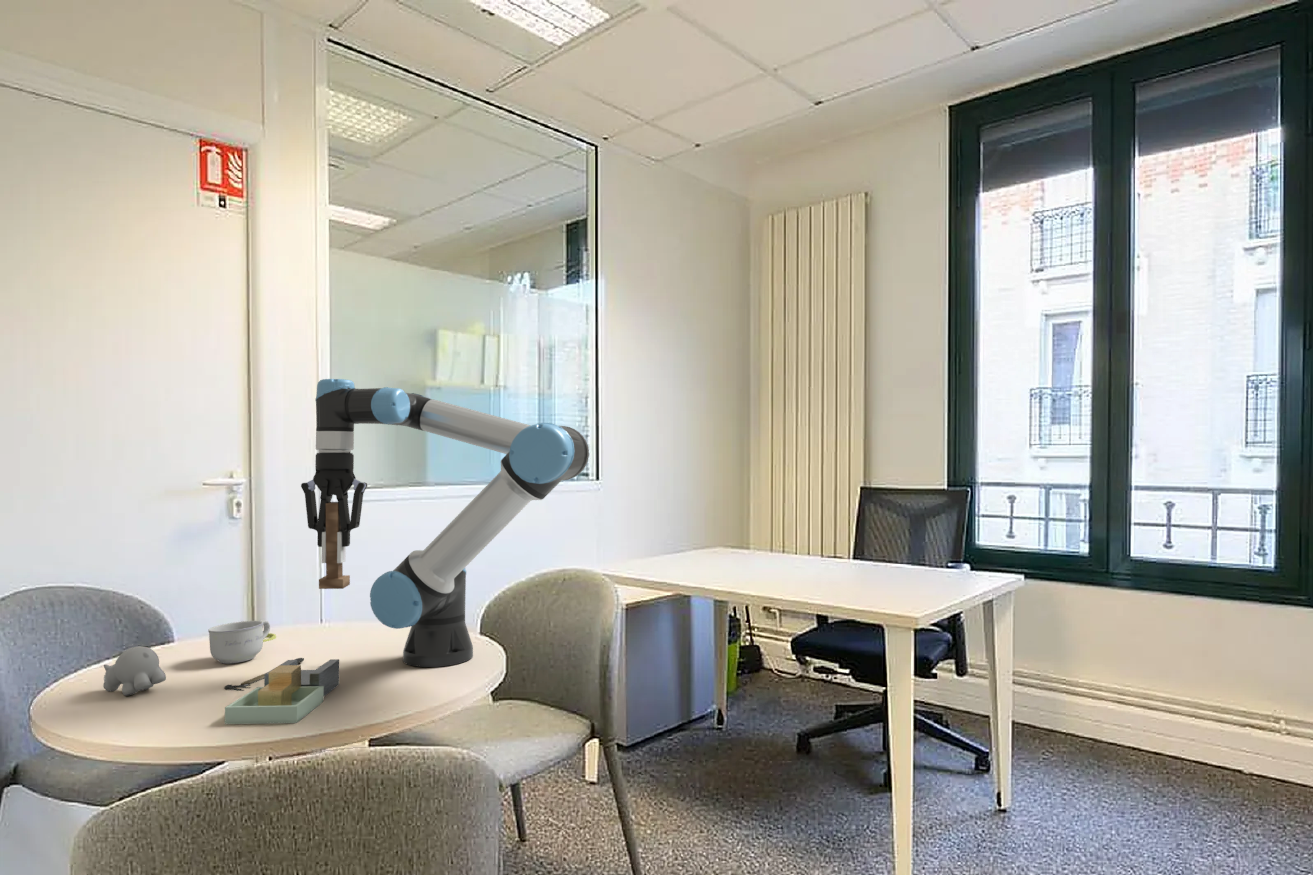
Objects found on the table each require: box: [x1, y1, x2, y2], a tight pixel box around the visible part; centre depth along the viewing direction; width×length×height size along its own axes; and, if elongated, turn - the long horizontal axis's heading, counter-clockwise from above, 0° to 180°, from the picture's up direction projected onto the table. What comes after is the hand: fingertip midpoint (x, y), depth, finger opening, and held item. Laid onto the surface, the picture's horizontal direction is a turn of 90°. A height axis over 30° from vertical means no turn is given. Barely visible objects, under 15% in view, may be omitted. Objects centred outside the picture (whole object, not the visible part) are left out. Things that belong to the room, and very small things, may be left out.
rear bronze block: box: [268, 664, 302, 694], centre depth 138 cm, size 4×4×4 cm
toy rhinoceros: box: [102, 646, 167, 697], centre depth 147 cm, size 7×12×8 cm, turn 75°
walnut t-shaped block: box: [318, 501, 351, 590], centre depth 162 cm, size 5×4×18 cm
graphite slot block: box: [263, 658, 340, 698], centre depth 146 cm, size 10×10×5 cm
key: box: [263, 632, 277, 643], centre depth 189 cm, size 7×12×2 cm, turn 81°
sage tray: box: [224, 686, 324, 725], centre depth 135 cm, size 12×12×3 cm
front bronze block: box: [258, 683, 292, 706], centre depth 134 cm, size 4×4×4 cm
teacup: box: [207, 619, 271, 665], centre depth 171 cm, size 14×11×8 cm
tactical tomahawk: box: [224, 657, 305, 692], centre depth 158 cm, size 21×7×1 cm, turn 166°
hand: (333, 562), depth 162 cm, fingers closed on walnut t-shaped block, 2 cm apart
